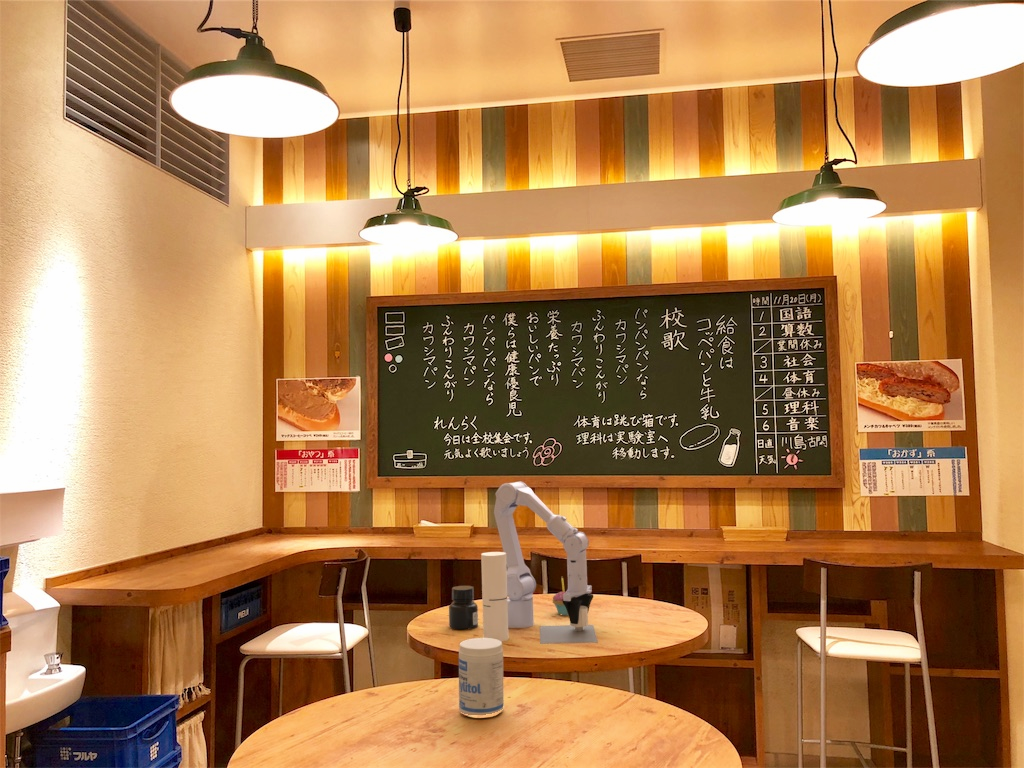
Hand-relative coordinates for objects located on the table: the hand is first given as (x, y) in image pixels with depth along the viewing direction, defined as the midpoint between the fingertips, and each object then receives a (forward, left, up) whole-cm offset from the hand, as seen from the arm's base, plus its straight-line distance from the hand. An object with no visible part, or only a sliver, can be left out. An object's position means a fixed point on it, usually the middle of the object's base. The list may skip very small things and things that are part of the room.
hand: (578, 621), depth 237 cm
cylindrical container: (-24, -8, -4) cm, 26 cm away
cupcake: (-3, +26, -4) cm, 26 cm away
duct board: (-3, -4, -3) cm, 6 cm away
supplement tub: (-24, -65, -4) cm, 69 cm away
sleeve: (0, 0, -1) cm, 1 cm away
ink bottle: (-35, +11, -4) cm, 37 cm away
